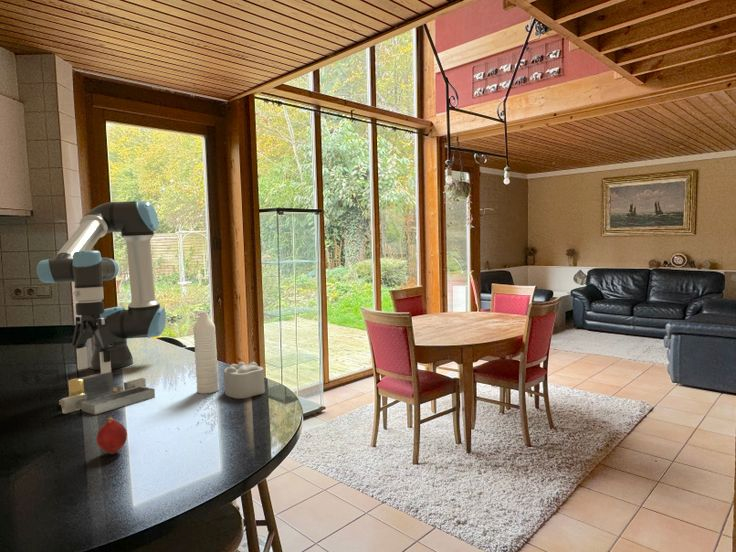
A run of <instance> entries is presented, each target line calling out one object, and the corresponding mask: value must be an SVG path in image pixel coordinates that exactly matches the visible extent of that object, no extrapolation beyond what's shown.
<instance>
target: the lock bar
mask: <svg viewBox="0 0 736 552" xmlns="http://www.w3.org/2000/svg"><path fill="white" fill-rule="evenodd" d="M67 383H68V392H69V394H68V395H69V396H68V397H70V396H74V395H78V394H82V393H85V394H87V400H91V399H95V398H98V397H102V396H106V395H109V394H113V393H115V392H114V390H113V386H114V377H113V372H112V371H111V372H108V373H104V374H101V372H99V373H94V374H90V375H86V376H82V377H77V378H76V377H75V378H73V379H72V378H71V379H69V380H68V382H67Z"/></svg>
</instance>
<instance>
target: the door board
mask: <svg viewBox="0 0 736 552" xmlns="http://www.w3.org/2000/svg"><path fill="white" fill-rule="evenodd" d="M113 390H114V393H113V394H109V395H106V396H102V397H98V398H95V399H91V400H87V394H85V393H82V394H78V395H74V396H70V397H69V396H66V397H63V398H60V400H58V403H59V404H58V405H61V406H60V407H61V412H62V413H61V414H64V415H65V414H70V413H74V412H77V411H80V409H81V411H82V412H84V413H88V414H92V415H95V416H97V415H99V414H104V413H105V412H106V413H107V412H108V411H113V410H116V409H119V408H122V407H126V406H129V405H133V404H136V403H139V402H142V401H146V400H149V399H152V398H153V399H154V398H156V395H155V392H156V390H155V388H153V387H147V385H146V378H144V377H141V378H138V379H133V380H130V381H124V382H123V387H121V386H116V385H113ZM116 392H117V393H116Z"/></svg>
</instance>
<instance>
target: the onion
mask: <svg viewBox="0 0 736 552" xmlns="http://www.w3.org/2000/svg"><path fill="white" fill-rule="evenodd" d="M127 438H128V433H127V429H126V427H125V426H124V425H123V424H122V423H120V422H119V421H117V420H115V419H114V418H112V417H108V418H107V420H106V423H104V424H103V425H102V426H101V427H100V429H99V430H98V432H97V435H96V444H97V446H98V447H99V448H100V449H101V451H102V450H103V451H104V452H107V453H108V454H110V455H115V454H116V453H117V452H119V450H121V449H122V448H123V446H124V445H125V444H126V441H127Z"/></svg>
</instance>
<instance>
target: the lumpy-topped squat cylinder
mask: <svg viewBox="0 0 736 552" xmlns="http://www.w3.org/2000/svg"><path fill="white" fill-rule="evenodd" d="M223 370H224V371H223V377H224V378H223V379H224V393H225V395H226V396H227V397H230V398H232V399H239V400H240V399H247V398H250V397H255V396H258V395H262V394H264V393H265V392H266V390H265V389H266V388H265V387H266V386H265V371H264V370H265V369H264V367H262V366H259V365H258V363H257V362H255V361H251V362H249V363H248V364H246V362H244V361H239V362H238V363H236V364H235V363H231V364H230V366H227V367H226V368H224V369H223Z"/></svg>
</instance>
